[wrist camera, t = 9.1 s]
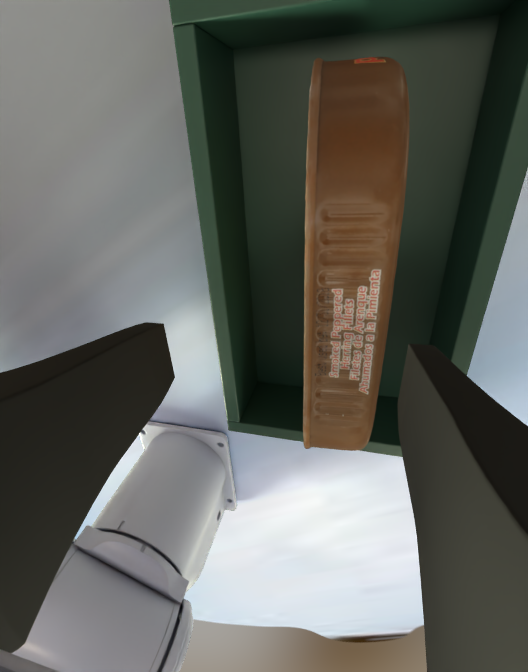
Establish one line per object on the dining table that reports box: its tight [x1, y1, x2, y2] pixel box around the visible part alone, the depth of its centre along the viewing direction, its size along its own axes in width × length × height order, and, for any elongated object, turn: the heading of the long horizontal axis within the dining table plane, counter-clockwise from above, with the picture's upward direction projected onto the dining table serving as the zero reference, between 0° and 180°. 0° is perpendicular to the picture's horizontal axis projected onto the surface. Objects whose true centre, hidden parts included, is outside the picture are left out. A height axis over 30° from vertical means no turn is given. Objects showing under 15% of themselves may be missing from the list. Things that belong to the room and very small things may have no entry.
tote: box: [169, 0, 528, 457], centre depth 16 cm, size 19×12×5 cm, turn 3°
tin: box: [303, 57, 409, 451], centre depth 14 cm, size 15×3×8 cm, turn 3°
